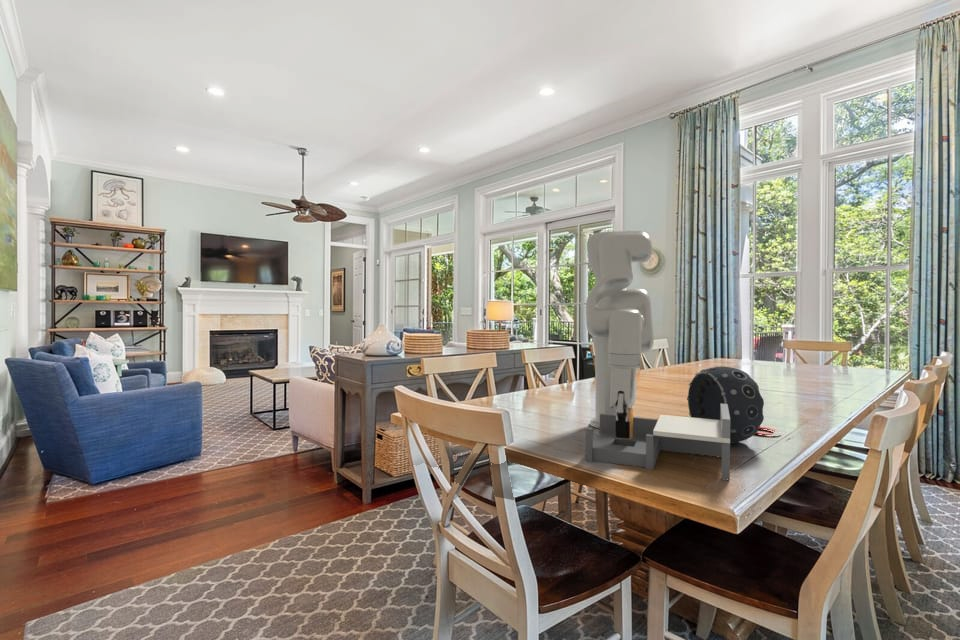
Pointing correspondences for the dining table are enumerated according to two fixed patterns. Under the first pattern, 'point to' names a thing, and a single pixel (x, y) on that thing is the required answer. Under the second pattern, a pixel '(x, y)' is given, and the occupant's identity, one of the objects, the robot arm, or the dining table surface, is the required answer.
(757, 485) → the dining table surface
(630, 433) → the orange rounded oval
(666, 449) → the housing
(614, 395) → the robot arm
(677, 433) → the lid
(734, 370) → the studded black wheel
